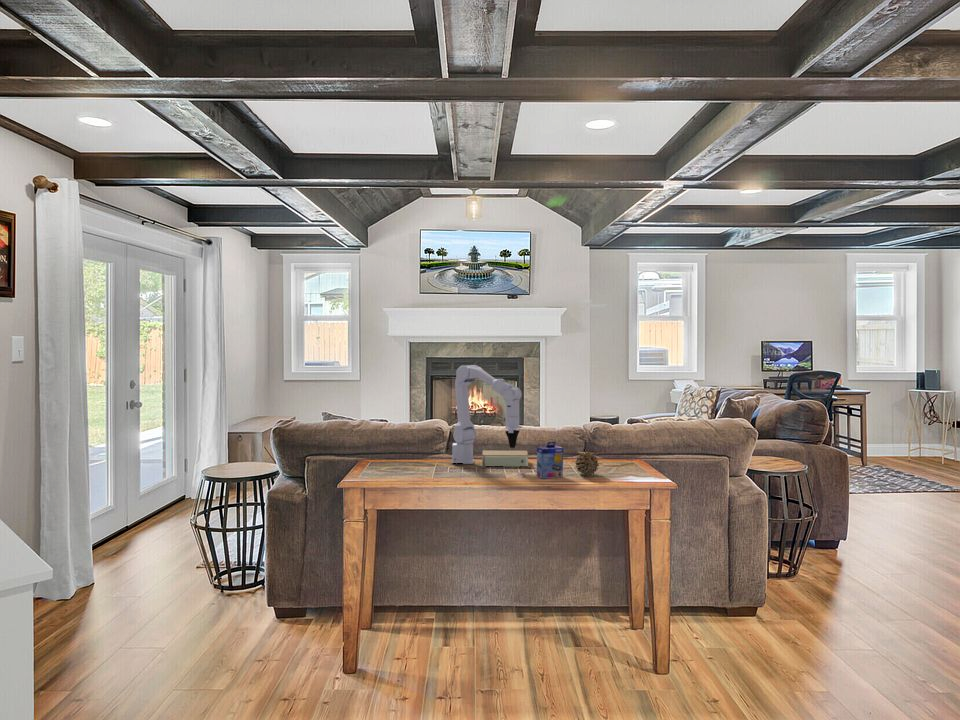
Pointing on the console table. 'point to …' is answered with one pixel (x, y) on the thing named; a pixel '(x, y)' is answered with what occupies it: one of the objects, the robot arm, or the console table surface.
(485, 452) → the beige flat box
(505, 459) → the door
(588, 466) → the pine cone
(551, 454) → the ink cartridge box
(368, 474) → the console table surface
